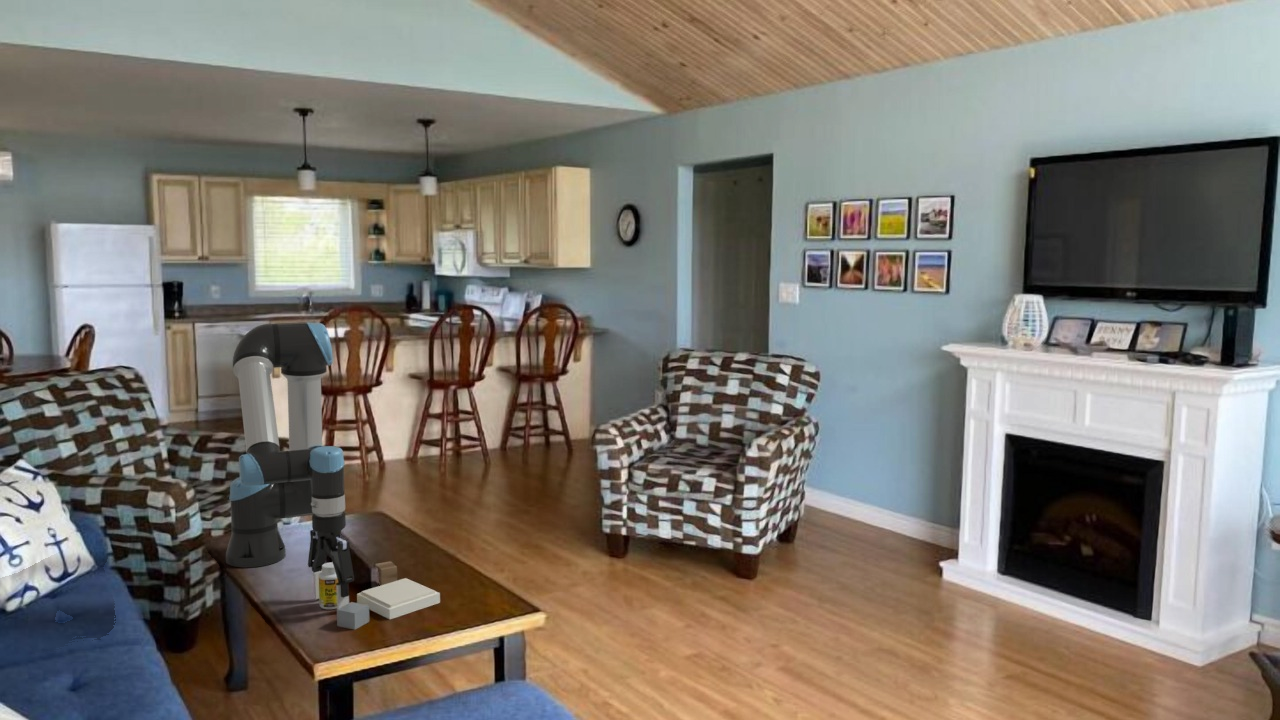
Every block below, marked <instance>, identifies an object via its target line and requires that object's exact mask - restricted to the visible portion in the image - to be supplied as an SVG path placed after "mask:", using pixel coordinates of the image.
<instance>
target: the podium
mask: <svg viewBox="0 0 1280 720" xmlns="http://www.w3.org/2000/svg"><path fill="white" fill-rule="evenodd" d="M356 603H359V604H364V605H369V611H372V612H374V613H375V614H378V615H380V616H382V617H384V618H386V619H387V620H393V619H396V618H399V617H402V616H404V615H405V616H406V615H407V614H410V613H413V612H416V611H419V610H422V609H425V608H428V607H432V606H433V605H434V606H435V605H438V604H440V603H441V592H438V591H436V590H434V589H432V588H429V587H428V586H425V585H422V584H421V583H418V582H416V581H415V580H414V581H413V580H411V579H408V578H407V577H405V578H401V579H397V581H394V582H391V583H388V584H384V585H381V586H379V585H378V586H373V587H372V588H368V589H365V590H361V592H359V593H357V594H356Z"/></svg>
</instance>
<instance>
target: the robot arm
mask: <svg viewBox="0 0 1280 720" xmlns="http://www.w3.org/2000/svg"><path fill="white" fill-rule="evenodd" d="M332 348H333V347H332V343H331V339H330V334H329V332H328V329H327V327H326V326H325V325H324V324H323V323H321V322H307V321H305V322H287V323H286V322H285V323H264V324H260V325H257V326H256V327H253V328H252V329H250V330H249V331H247V333H246V334H244V336H242V338H241V339H240V340H239V342H238V344H237V346H236V347H235V350H234V353H233V356H232V370H233V371H232V373H233V374H234V376H235V377H236V378H237V379H238V385H239V386H238V387H239V396H240V397H239V398H240V404H241V413H242V424H243V432H244V433H243V434H244V442H245V449H246V450H245V451H246V453H245V454H241V455H240V456H239V458H238V470H239V477H236V478H235V479H233V481H232V482H231V483H230V486H229V487H230V488H229V497H228V498H229V501H230V520H231V523H230V524H231V525H230V526H231V535H230V538H229V541H228V545H227V549H226V552H225V563H226V564H227V565H229V566H231V567H235V568H257V567H264V566H269V565H272V564H276V563H278V562H280V561H281V560H283V559H284V558H286V556H287V555H286V546H285V543H284V540H283V539H282V538H283V537H282V536H281V534H280V531H279V527H278V526H279V525H278V523H279V522H278V520H281V519H290V518H296V517H298V518H299V517H307V516H309V517H310V516H311V526H312V530H309V532H310V533H309V534H310V542H309V550H308V551H309V552H308V561H307V567H308V568H311V570H312V572H313V587H314V589H313V590H314V591H313V592H314V599H315V600H318V599H319V574H320V573H321V572H322V565H323V564H325V563H326V561H327V557H329V558H330V559H331V562H333V565H334V569H335V572H336V575H337V579H338V583H336V589H337V608H336V610H337V609H339V608H341V607H343V606H345V605H347V604H349V603H350V587H349V584H350V583H352V582H355V575H354V568H353V563H352V562H353V561H352V557H351V551H350V540H349V538H348V539H343V536H342V533H341V532H342V531H343V530H344V529H345V528H346V525H347V523H346V522H347V521H346V512H345V510H346V493H345V459H344V458H345V457H344V451H343V449H342V448H341V447H337V446H333V445H331V446H330V445H326V446H325V445H323V418H322V417H323V416H322V413H323V412H322V410H323V409H322V378H323V376H325V375H326V374H327V372H328V371H327V367H329V366H331V365H332V364H334V363H333V362H334V360H333V357H334V356H333V350H332ZM274 368H280V373H281V375H282V376H283V377H285V378H286V380H287V381H286V382H287V413H288V440H289V441H288V444H289V445H288V446H289V447H288V449H289V450H282V451H281V448H280V440H279V432H278V424H277V417H276V409H275V402H274V394H273V387H272V378H271V374H272V373H273V372H274V371H273V370H274Z"/></svg>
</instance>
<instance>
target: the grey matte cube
mask: <svg viewBox="0 0 1280 720" xmlns="http://www.w3.org/2000/svg"><path fill="white" fill-rule="evenodd" d="M369 622H370V609H369V605H364V604H359V603H357V602H353V601H351V602H350V601H349V604H347V605H345V606H343V607H341V608H339V609H337V608H336V626H337V627H340V628H343V629H344V628H346V629H351V630H354V631H355V630H357V629H359V628H361V627H362V626H364V625H366V624H367V623H368V624H369Z"/></svg>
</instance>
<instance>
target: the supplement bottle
mask: <svg viewBox="0 0 1280 720" xmlns="http://www.w3.org/2000/svg"><path fill="white" fill-rule="evenodd" d="M336 583H338V579H337V575H336V572H335V569H334V565H333V562H332V561H331V562H325V564H323V565H322V572H321V573H320V574H319V601H318V603H319V607H320V608H321V609H323V610H337V589H336Z"/></svg>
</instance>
